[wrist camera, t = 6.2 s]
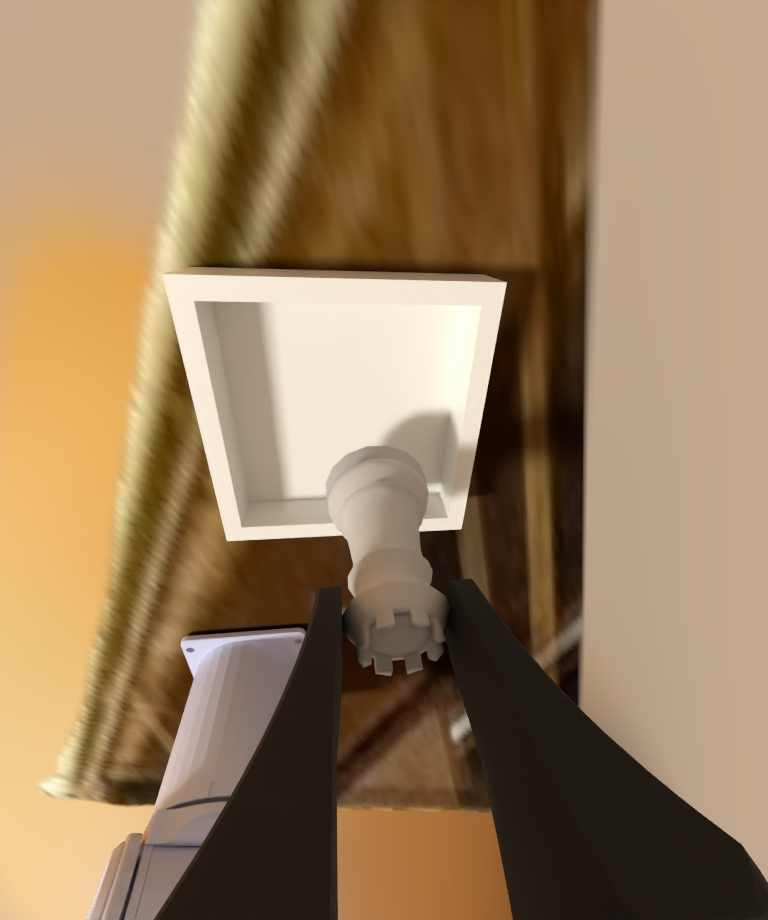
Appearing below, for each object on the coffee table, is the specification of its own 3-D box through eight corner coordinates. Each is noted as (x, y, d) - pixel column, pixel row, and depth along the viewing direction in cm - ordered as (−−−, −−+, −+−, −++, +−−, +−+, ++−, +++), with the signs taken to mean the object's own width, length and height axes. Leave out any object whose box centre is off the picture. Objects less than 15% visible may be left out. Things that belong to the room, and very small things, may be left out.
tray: (448, 499, 22) (461, 529, 20) (237, 508, 21) (227, 540, 18) (483, 274, 16) (506, 282, 14) (187, 266, 14) (162, 273, 12)
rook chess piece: (338, 528, 19) (339, 705, 12) (313, 450, 16) (298, 617, 9) (428, 510, 19) (483, 676, 12) (418, 430, 16) (478, 580, 9)
